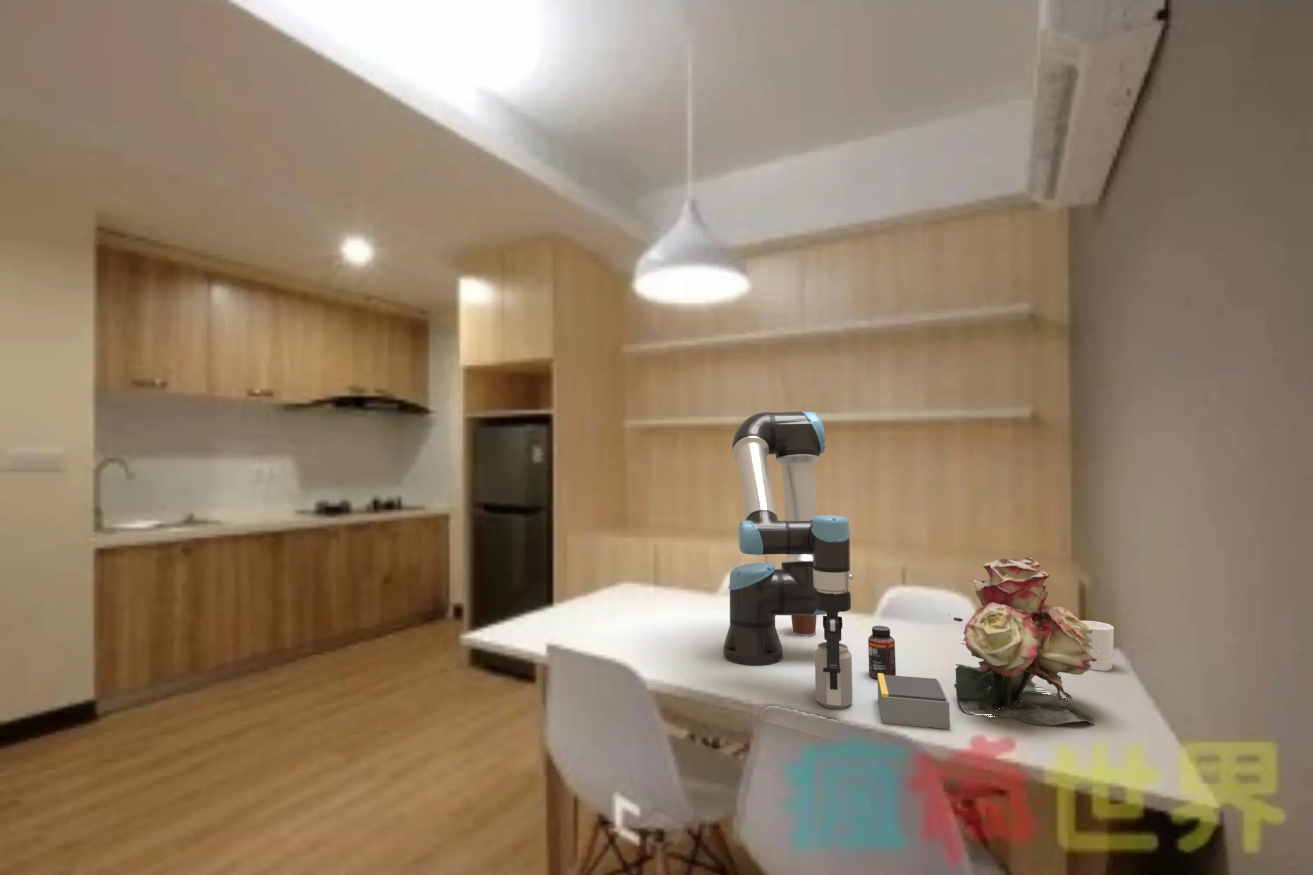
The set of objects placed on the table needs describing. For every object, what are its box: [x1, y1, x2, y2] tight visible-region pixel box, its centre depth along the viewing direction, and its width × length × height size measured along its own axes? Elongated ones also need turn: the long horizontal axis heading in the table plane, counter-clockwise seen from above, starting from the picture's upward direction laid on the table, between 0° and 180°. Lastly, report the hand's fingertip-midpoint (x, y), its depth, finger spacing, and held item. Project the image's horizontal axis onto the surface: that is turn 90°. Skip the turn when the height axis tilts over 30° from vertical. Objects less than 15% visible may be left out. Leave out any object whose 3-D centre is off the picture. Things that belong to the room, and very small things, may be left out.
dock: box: [877, 673, 951, 730], centre depth 127 cm, size 12×12×6 cm
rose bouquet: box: [948, 557, 1097, 726], centre depth 132 cm, size 26×29×30 cm
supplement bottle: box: [867, 625, 897, 680], centre depth 149 cm, size 6×6×11 cm
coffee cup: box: [790, 615, 818, 637], centre depth 185 cm, size 9×9×12 cm
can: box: [814, 641, 853, 710], centre depth 133 cm, size 8×8×12 cm
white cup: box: [1080, 620, 1115, 672], centre depth 154 cm, size 8×8×10 cm
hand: (833, 691), depth 133 cm, fingers open, 13 cm apart
